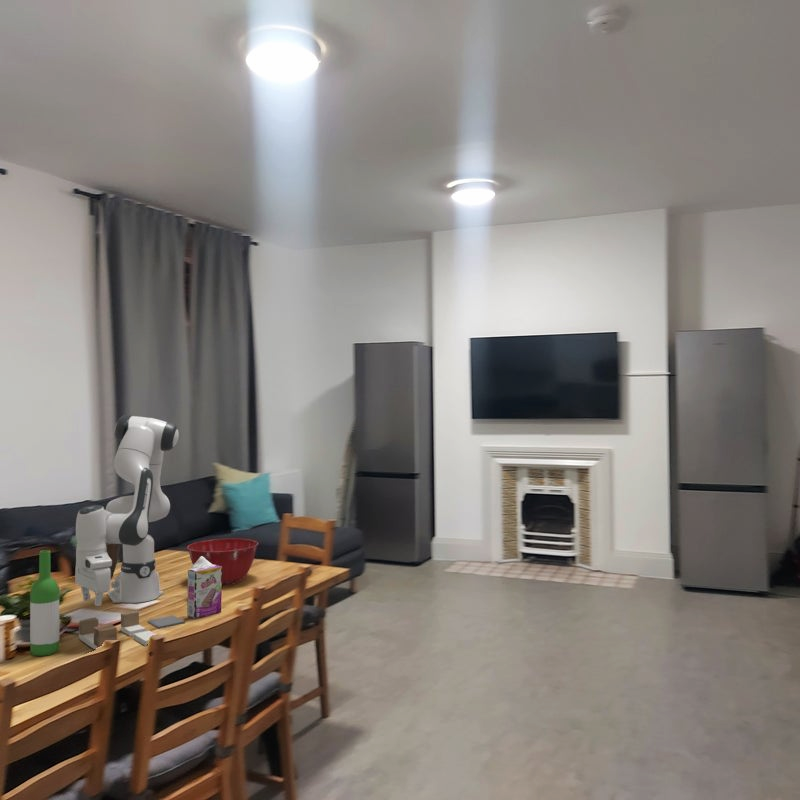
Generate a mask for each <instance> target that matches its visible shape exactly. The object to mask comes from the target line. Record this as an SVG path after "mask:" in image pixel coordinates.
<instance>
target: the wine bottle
mask: <svg viewBox="0 0 800 800" xmlns="http://www.w3.org/2000/svg"><path fill="white" fill-rule="evenodd" d="M38 553H39V555H38V556H39V559H38V560H39V561H38V563H39V564H38V569H39V571H38V572H39V573H38V576H39V577H38V579H37V580H36V581H35V582H34V583H33V584H32V586H31V588H30V593H29V594H30V595H29V596H30V603H29V604H30V605H29V606H30V607H29V610H30V611H29V613H30V615H29V618H30V619H29V623H30V624H29V625H30V626H29V629H30V630H29V637H30V638H29V639H30V641H29V644H30V647H29V648H30V649H29V650H30V653H31V654H32V656H35V657H43V656H44V657H45V656H49V655H52V654H55V653H56V652H58V650H59V649H60V585H59V584H58V582H57V581H56V580H55V579H54V578H52V575H51V574H52V573H51V550H49V549H46V550H45V549H44V550H40V551H39V552H38Z"/></svg>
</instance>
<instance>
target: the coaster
mask: <svg viewBox="0 0 800 800" xmlns="http://www.w3.org/2000/svg"><path fill="white" fill-rule="evenodd" d="M147 623H148V624H150V625H151V624H152V626H153V627H155V628H157V629H164V628H169V627H173V626H176V625H177V626H178V625H181V624H185V623H186V621H185V620H183V619H181V618H180V617H178V616H176V615H167V616H163V617H159V618H154V619H149V620H147Z"/></svg>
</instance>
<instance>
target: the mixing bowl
mask: <svg viewBox="0 0 800 800" xmlns="http://www.w3.org/2000/svg"><path fill="white" fill-rule="evenodd" d="M258 545H259V542H258V541H256V540H253V539H247V538H218V539H216V538H215V539H208V540H201V541H197V542H196V541H195V542H193V543H191V544H188V545H187V547H186V548H187V550H188V553H189V557H190V560H191V563H192V566H193V565H194V564H195V563H196V561H197V560H198V559H199V558H200V557H201V556H203V557H204V558H205V559H206V560H207V561H209V562H210V563H211V564H212V565H219V566H222V586H230V585H234V584H233V583H235V584H237V582H238V583H239V582H241V580H244V578H245V577H246V576H247V575H248V573H249V571H250V569H251V568H252V567H251V566H252V564H253V562H254V559H255V556H256V553H257V549H258ZM229 584H230V585H229Z"/></svg>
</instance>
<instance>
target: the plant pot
mask: <svg viewBox="0 0 800 800" xmlns="http://www.w3.org/2000/svg"><path fill="white" fill-rule="evenodd" d="M121 546H122V544H112V543H106V547H107V553H108V556H109V557H110V558H111V560H112V566H109V567H110V570H111V580H112V578H113V577H114V574H115V570H116V567H117V564H118V561H119V556H120V552H121V551H120V549H121Z"/></svg>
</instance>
